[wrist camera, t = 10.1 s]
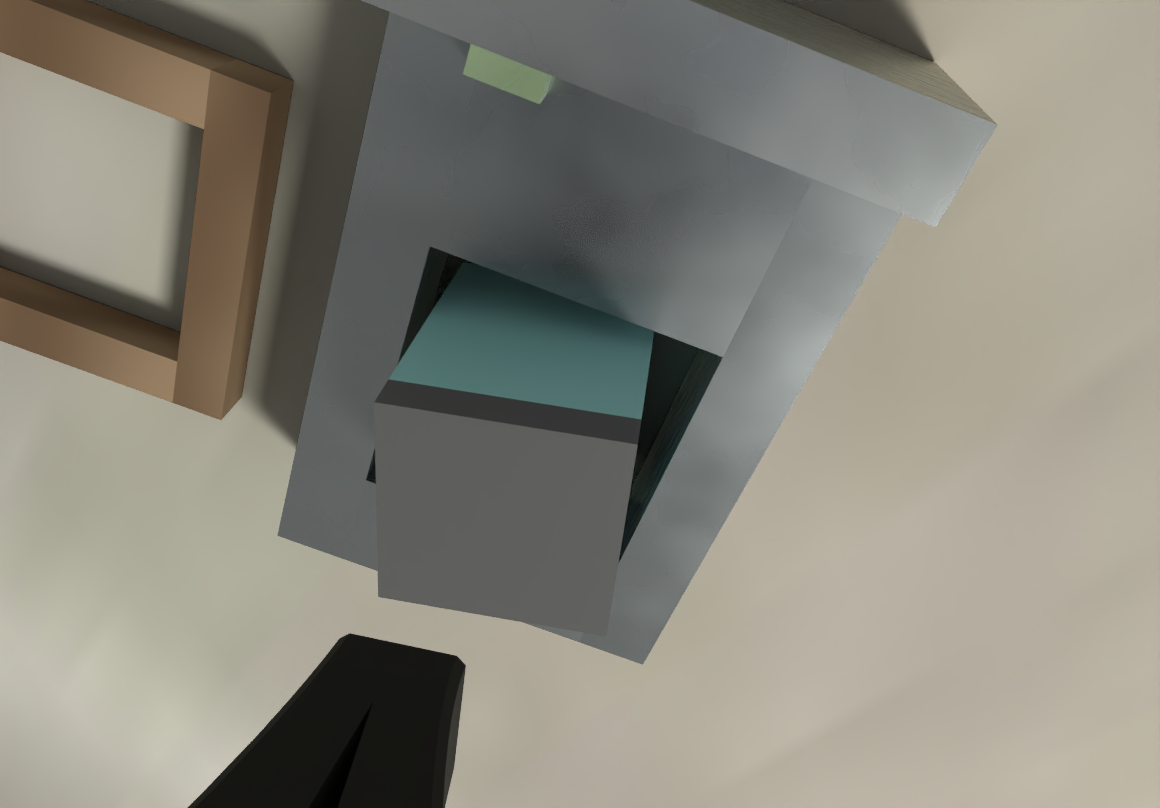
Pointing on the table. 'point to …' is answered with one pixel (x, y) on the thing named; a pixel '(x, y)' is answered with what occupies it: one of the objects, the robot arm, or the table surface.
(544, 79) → the port
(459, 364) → the plug
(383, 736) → the robot arm
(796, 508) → the table surface
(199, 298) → the brown square frame
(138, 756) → the table surface
